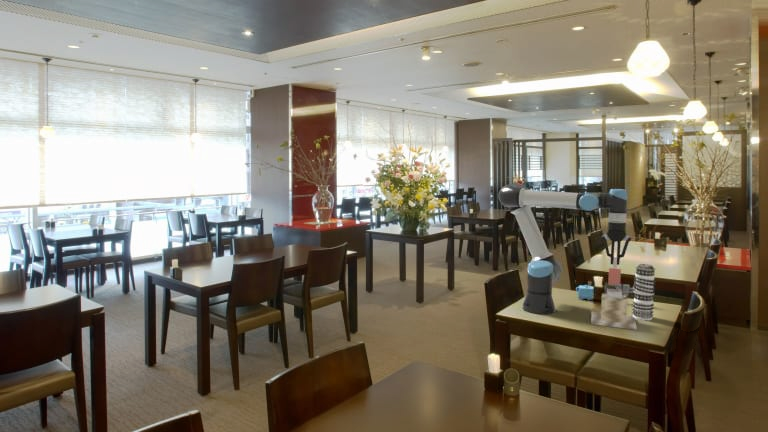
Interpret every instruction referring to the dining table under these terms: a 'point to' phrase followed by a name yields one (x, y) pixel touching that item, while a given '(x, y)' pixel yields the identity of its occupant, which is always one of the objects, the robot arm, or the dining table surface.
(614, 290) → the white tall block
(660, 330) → the dining table surface
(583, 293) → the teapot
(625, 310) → the hitch block
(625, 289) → the mechanical component
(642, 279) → the black and white tower
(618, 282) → the keeper flap
